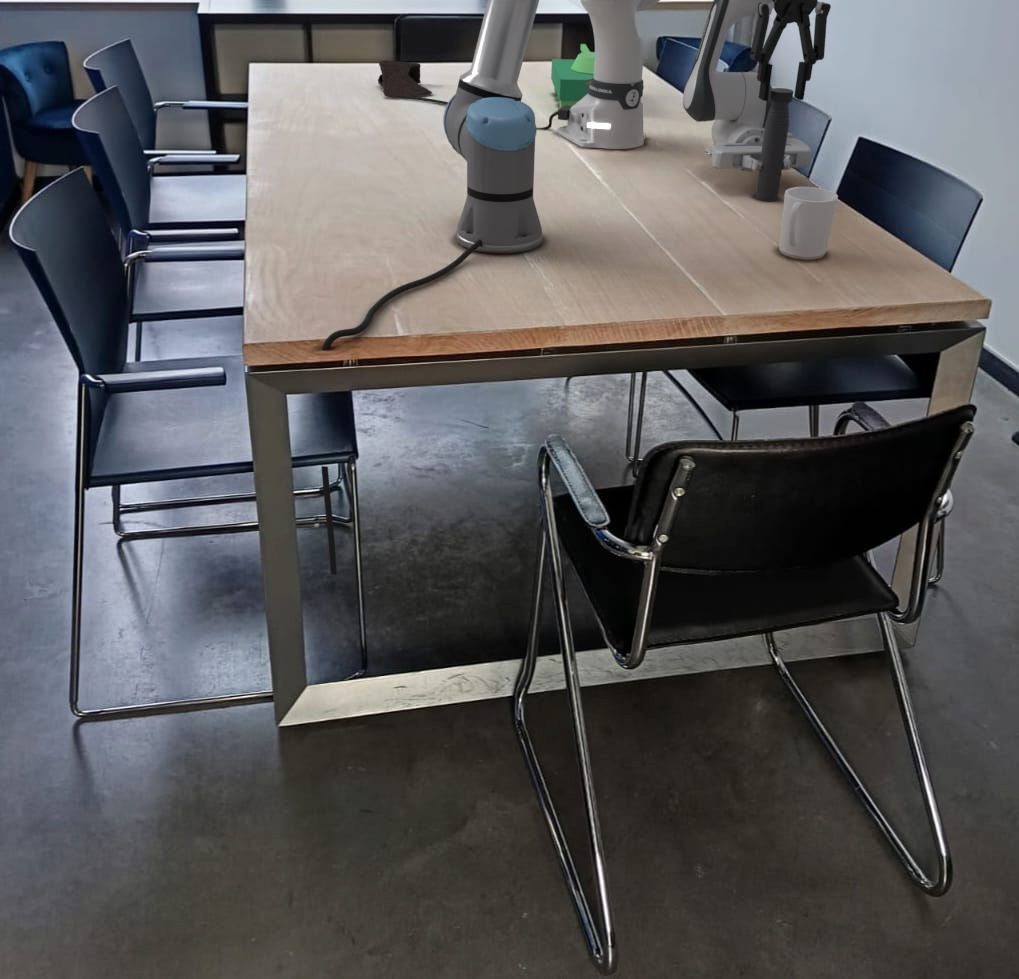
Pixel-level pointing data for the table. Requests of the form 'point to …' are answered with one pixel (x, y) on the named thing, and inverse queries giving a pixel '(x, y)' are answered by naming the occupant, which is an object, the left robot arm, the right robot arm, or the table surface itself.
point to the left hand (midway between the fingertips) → (780, 98)
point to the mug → (806, 222)
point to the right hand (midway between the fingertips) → (773, 166)
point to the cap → (781, 95)
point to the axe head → (401, 79)
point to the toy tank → (572, 77)
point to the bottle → (773, 152)
